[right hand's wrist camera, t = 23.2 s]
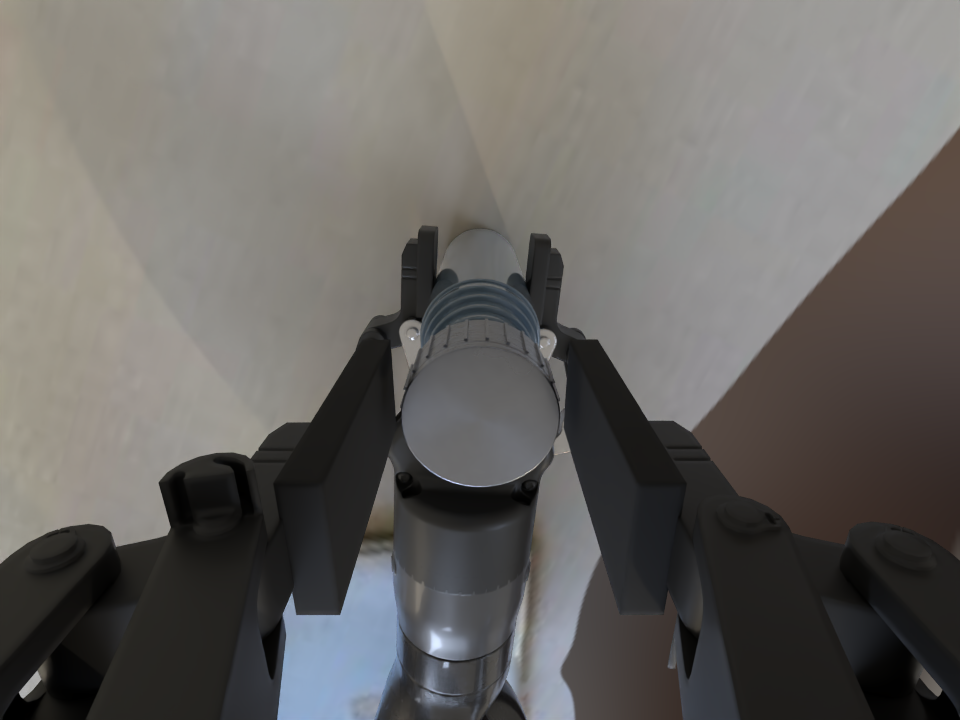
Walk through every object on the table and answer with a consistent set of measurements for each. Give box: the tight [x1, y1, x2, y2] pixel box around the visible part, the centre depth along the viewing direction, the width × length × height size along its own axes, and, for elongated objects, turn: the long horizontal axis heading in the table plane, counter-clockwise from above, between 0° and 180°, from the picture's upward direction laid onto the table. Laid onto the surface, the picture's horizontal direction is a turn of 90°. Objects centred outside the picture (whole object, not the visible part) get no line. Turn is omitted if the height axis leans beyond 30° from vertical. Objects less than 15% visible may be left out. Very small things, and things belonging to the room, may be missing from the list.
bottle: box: [420, 229, 540, 349], centre depth 21 cm, size 4×4×18 cm
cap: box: [400, 319, 560, 487], centre depth 14 cm, size 4×4×2 cm
